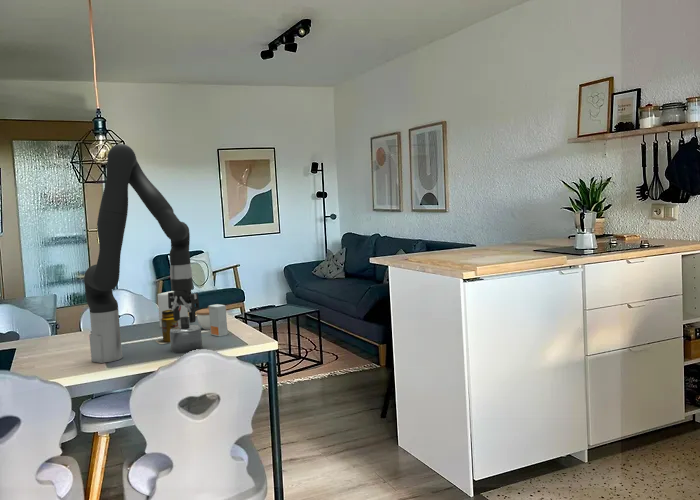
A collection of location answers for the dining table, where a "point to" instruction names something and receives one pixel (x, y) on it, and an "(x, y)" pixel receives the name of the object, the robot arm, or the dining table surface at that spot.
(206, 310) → the lidded jar
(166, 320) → the condiment
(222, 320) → the skincare box
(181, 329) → the lid
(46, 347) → the dining table surface
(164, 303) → the supplement box
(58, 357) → the dining table surface
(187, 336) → the grey block
